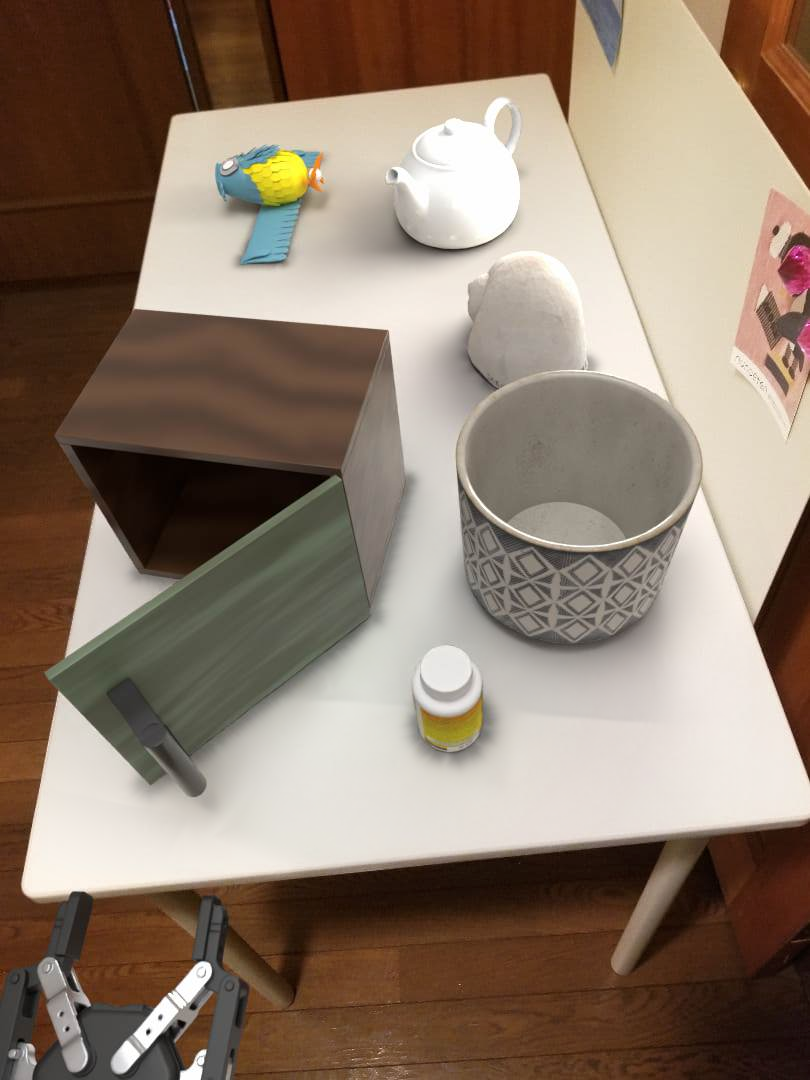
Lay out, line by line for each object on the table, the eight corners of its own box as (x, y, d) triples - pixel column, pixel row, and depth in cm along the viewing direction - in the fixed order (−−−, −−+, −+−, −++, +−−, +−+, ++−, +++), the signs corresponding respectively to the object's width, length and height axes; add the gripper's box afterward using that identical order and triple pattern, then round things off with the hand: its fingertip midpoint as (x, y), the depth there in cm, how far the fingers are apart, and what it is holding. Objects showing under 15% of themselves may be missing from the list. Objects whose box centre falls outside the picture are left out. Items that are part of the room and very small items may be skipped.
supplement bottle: (494, 736, 68) (496, 682, 60) (435, 765, 67) (429, 714, 58) (463, 682, 71) (461, 624, 63) (406, 709, 70) (396, 653, 62)
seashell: (539, 353, 105) (478, 255, 99) (631, 325, 95) (570, 213, 88) (486, 427, 98) (417, 326, 91) (580, 404, 87) (510, 288, 81)
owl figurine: (297, 204, 102) (184, 207, 104) (310, 263, 109) (204, 265, 111) (333, 96, 118) (234, 101, 120) (342, 153, 125) (249, 157, 127)
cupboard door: (412, 657, 73) (393, 525, 57) (186, 839, 65) (91, 745, 49) (365, 610, 76) (335, 473, 60) (145, 778, 68) (43, 672, 52)
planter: (688, 525, 79) (729, 404, 66) (628, 689, 69) (663, 586, 56) (505, 469, 85) (509, 347, 72) (427, 612, 75) (415, 502, 62)
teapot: (530, 252, 107) (536, 152, 96) (392, 261, 108) (382, 163, 97) (519, 176, 118) (523, 78, 107) (394, 185, 119) (385, 89, 108)
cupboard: (370, 608, 76) (340, 469, 60) (139, 573, 81) (53, 435, 65) (406, 480, 85) (388, 329, 69) (196, 455, 90) (134, 308, 74)
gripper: (190, 1244, 38) (242, 882, 48) (-94, 1228, 39) (12, 878, 49) (229, 1228, 44) (269, 910, 54) (-18, 1214, 45) (64, 905, 55)
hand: (147, 895), depth 51 cm, fingers open, 8 cm apart
